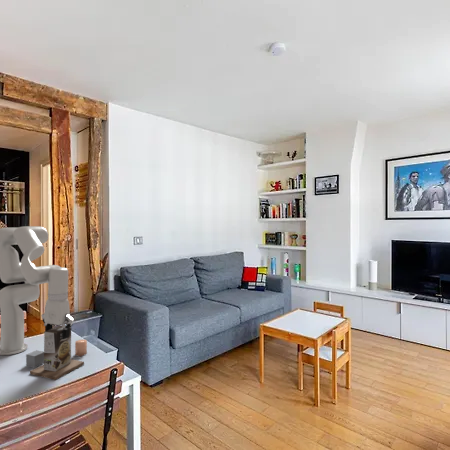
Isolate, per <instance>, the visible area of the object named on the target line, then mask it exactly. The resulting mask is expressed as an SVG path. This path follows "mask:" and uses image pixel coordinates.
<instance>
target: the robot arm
mask: <svg viewBox="0 0 450 450" xmlns="http://www.w3.org/2000/svg"><path fill="white" fill-rule="evenodd" d="M48 240H49V232H48V230H47V229H46V228H44V226H41V225H40V226H39V225H36V226H34V225H31V226H29V225H27V226H19V227H15V226H14V227H2V228H0V280H1V282H2V283H4V284H12V285H7V286H5V287H3V288H0V356H10V355H16V354H19V353H23V352H24V351H26V350H27V349H28V348H29V347H28V344H27V343H25V312H24V310H23V309H22V308H21V307H20V306H19V305H22V304H26V303H31V302H35V301H37V300H38V299H39V297H40V292H41V291H40V285H41V284H48V285H47V286H48V289H47V290H48V291H47V299H46V302H45V306H44V313H42V314H41V315H40V316H41V318H42V322H43V327H44V332H45V331H47V330H50V329H52V328H53V325H55V326H62V327H63V329H64V330H62V339H66V338H68V337H69V332H70V328H71V329H72V327H73V324H74V322H75V319H74V318H73V317H72V316H71V314H70V313H71V311H70V303H69V302H70V301H69V299H68V298H69V269H68V268H67V267H61V266H60V265H58V264H50V265H41V266H36V264H35V263H33V261H36V260H37V259H39V258H40V257H41V256H43V254H44V253H45V246H44V245H43V244H45V243H46V242H47V241H48ZM14 245H15V246H16V245H18V247H19V249H20V251H21V252H22V254H23V256H22V258H21V260H20V256H19V252H18V251H17V250H16V248H14V247H13V246H14ZM21 282H24V283H22V284H14V285H13V283H21Z"/></svg>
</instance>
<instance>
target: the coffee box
mask: <svg viewBox="0 0 450 450" xmlns="http://www.w3.org/2000/svg"><path fill="white" fill-rule="evenodd" d="M62 330H64V329H63V327H62V325H56V326H55V327H52V329H50V330H47V331H45V330H44V336H43V339H44V340H43V352H44V363H43V365H44V370H49V371H57V370H59V369H61V368H63V367H64V366H66V365H68V364H69V363H71V359H72V327H71V328H70V332H69V337H68V338H66V339H62Z"/></svg>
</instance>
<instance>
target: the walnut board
mask: <svg viewBox="0 0 450 450" xmlns="http://www.w3.org/2000/svg"><path fill="white" fill-rule="evenodd" d="M83 365H85V362H84V361H82V360H77V359H72V358H71V363H69V364H68V365H66V366H64V367H63V368H61V369H59V370H57V371H49V370H44V364H41V365H39V366H37V367H35V368H34V369H31V370H29V375H32V376H36V377H41V378H46V379H50V380H53V381H56V380H58V379H59V378H62V377H64V376H66V375H68V374H69V373H71V372H73V371H75V370H76V369H78V368H80V367H82V366H83Z"/></svg>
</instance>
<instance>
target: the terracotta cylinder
mask: <svg viewBox="0 0 450 450" xmlns="http://www.w3.org/2000/svg"><path fill="white" fill-rule="evenodd" d="M87 343H88V341H87V339H78V340H75V342H74V344H75V346H74V347H75V348H74V349H75V350H74V353H75V354H74V355H75V356H76V357H81V356H85V355H86V354H88V348H87V347H88V344H87Z"/></svg>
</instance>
